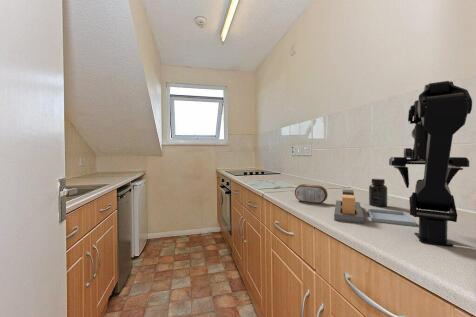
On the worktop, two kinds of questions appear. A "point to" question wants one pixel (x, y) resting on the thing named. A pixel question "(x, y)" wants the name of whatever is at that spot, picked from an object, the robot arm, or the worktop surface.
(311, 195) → the portable speaker
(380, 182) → the supplement bottle
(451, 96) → the robot arm
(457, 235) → the worktop surface
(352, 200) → the orange block
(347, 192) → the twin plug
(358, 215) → the grey slotted frame
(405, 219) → the tray
